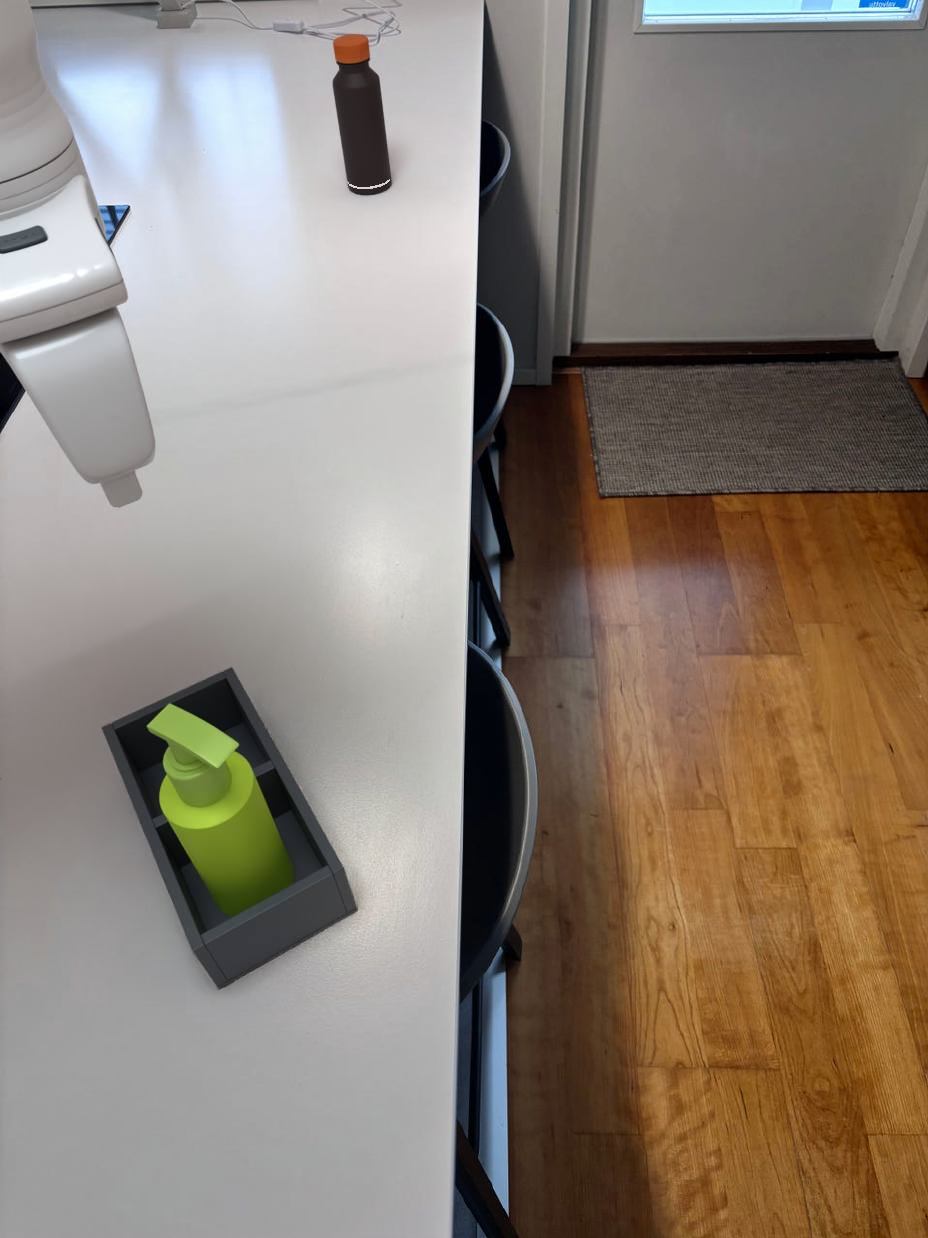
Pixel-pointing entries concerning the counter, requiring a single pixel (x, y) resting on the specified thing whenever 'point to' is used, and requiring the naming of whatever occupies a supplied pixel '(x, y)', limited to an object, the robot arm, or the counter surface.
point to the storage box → (317, 868)
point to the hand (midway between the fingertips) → (99, 452)
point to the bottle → (360, 116)
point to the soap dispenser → (219, 813)
